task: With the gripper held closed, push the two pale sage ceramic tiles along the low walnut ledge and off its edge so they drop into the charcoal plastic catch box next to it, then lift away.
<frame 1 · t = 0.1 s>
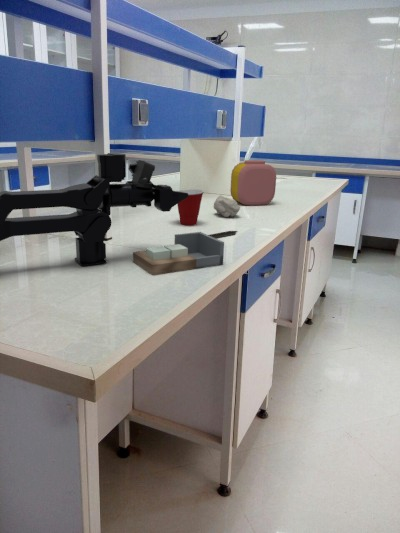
hand: (179, 192, 122), 17 cm above the worktop, tool horizontal, fingers open, 9 cm apart
knife: (209, 239, 143), on the worktop
tile 2: (175, 254, 114), point 2 cm above the worktop, touching walnut ledge
catch box: (198, 260, 119), on the worktop
alarm clock: (251, 204, 206), on the worktop
fossil replica: (225, 216, 177), on the worktop
plastic cup: (187, 224, 161), on the worktop
walnut ledge: (164, 264, 114), on the worktop
tile 1: (157, 256, 112), point 2 cm above the worktop, touching walnut ledge
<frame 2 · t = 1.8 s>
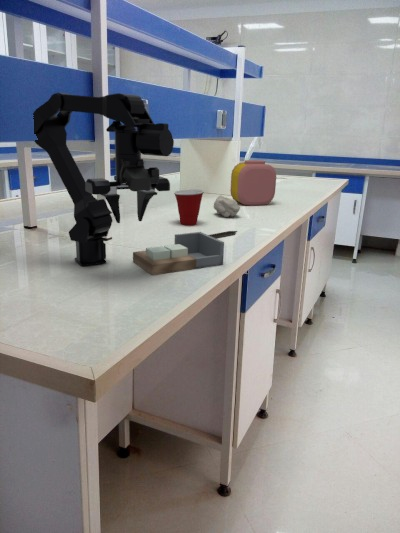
hand: (129, 221, 105), 12 cm above the worktop, tool pointing down, fingers open, 5 cm apart
nothing on the worktop moved.
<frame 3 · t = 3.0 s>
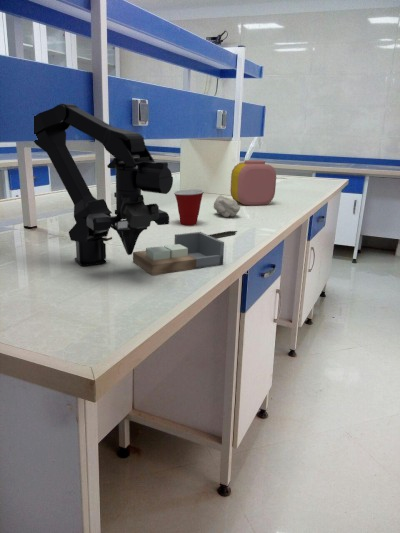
hand: (129, 254, 108), 4 cm above the worktop, tool pointing down, fingers closed
nothing on the worktop moved.
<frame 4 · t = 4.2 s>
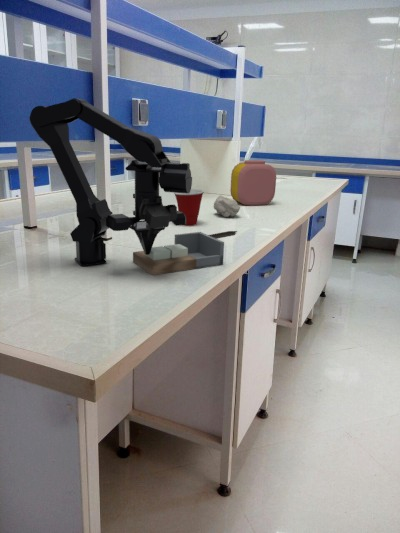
hand: (147, 254, 110), 4 cm above the worktop, tool pointing down, fingers closed
tile 1: (158, 256, 112), point 2 cm above the worktop, touching gripper, walnut ledge
everything else where it was.
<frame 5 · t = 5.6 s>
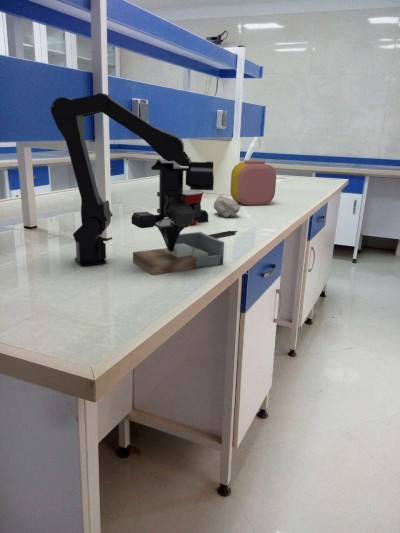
hand: (170, 251, 113), 4 cm above the worktop, tool pointing down, fingers closed
tile 2: (194, 256, 118), point 1 cm above the worktop, tilted 21°, touching tile 1
tile 1: (180, 253, 115), point 3 cm above the worktop, touching tile 2, gripper
everything else where it was.
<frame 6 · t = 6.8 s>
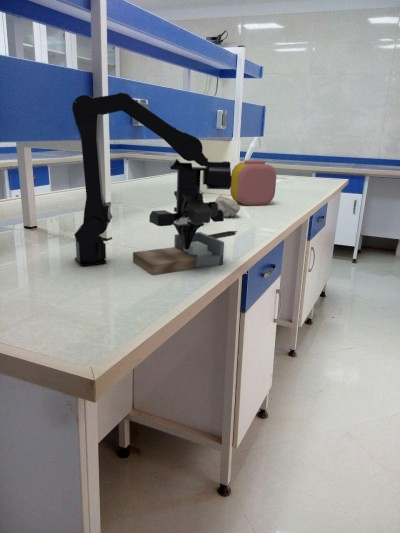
hand: (186, 249, 116), 4 cm above the worktop, tool pointing down, fingers closed
tile 2: (200, 258, 119), resting on catch box, touching tile 1
tile 1: (195, 251, 118), point 2 cm above the worktop, touching tile 2, gripper
everything else where it was.
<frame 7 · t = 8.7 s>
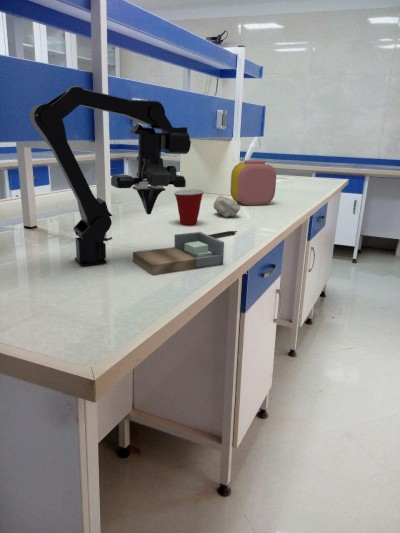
hand: (148, 214, 118), 11 cm above the worktop, tool pointing down, fingers closed
tile 1: (196, 251, 118), point 2 cm above the worktop, touching tile 2
everything else where it was.
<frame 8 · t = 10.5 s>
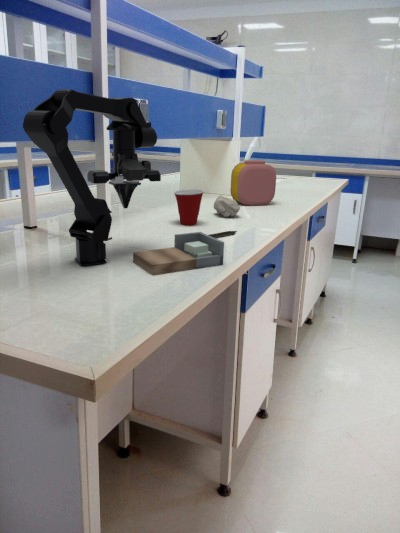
hand: (125, 208, 122), 12 cm above the worktop, tool pointing down, fingers closed
nothing on the worktop moved.
at the end: tile 1 inside the target area (0.7 cm from its centre), point 2.5 cm above the worktop; tile 2 inside the target area (0.6 cm from its centre), point 0.5 cm above the worktop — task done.
